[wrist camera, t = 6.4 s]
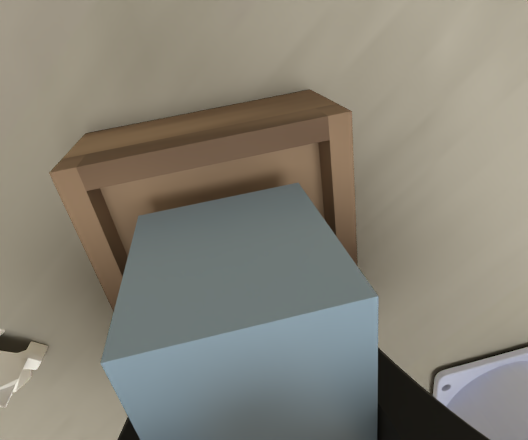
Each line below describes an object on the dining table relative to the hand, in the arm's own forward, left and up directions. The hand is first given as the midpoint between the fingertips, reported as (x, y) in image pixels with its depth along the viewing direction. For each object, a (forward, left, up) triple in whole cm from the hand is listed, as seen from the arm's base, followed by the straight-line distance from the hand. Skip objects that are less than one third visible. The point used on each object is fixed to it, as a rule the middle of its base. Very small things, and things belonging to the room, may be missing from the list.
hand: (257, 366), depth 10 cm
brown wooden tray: (0, 0, -5) cm, 5 cm away
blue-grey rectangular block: (0, 0, -2) cm, 2 cm away
